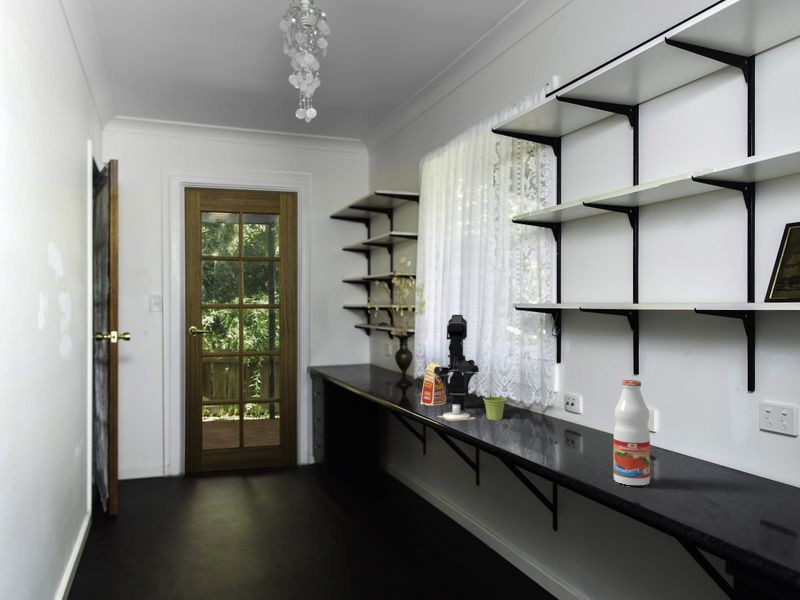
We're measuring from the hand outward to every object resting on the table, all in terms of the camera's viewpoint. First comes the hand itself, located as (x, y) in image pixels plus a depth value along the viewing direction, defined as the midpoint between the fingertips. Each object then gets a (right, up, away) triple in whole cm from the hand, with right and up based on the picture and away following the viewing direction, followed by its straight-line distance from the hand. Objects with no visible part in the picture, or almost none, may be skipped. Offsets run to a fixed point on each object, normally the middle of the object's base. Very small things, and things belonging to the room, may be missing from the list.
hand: (456, 390), depth 264 cm
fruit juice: (+40, -13, -89) cm, 99 cm away
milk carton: (-7, -12, +35) cm, 38 cm away
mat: (0, -12, 0) cm, 12 cm away
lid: (0, -11, 0) cm, 11 cm away
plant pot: (+16, -12, -2) cm, 20 cm away
